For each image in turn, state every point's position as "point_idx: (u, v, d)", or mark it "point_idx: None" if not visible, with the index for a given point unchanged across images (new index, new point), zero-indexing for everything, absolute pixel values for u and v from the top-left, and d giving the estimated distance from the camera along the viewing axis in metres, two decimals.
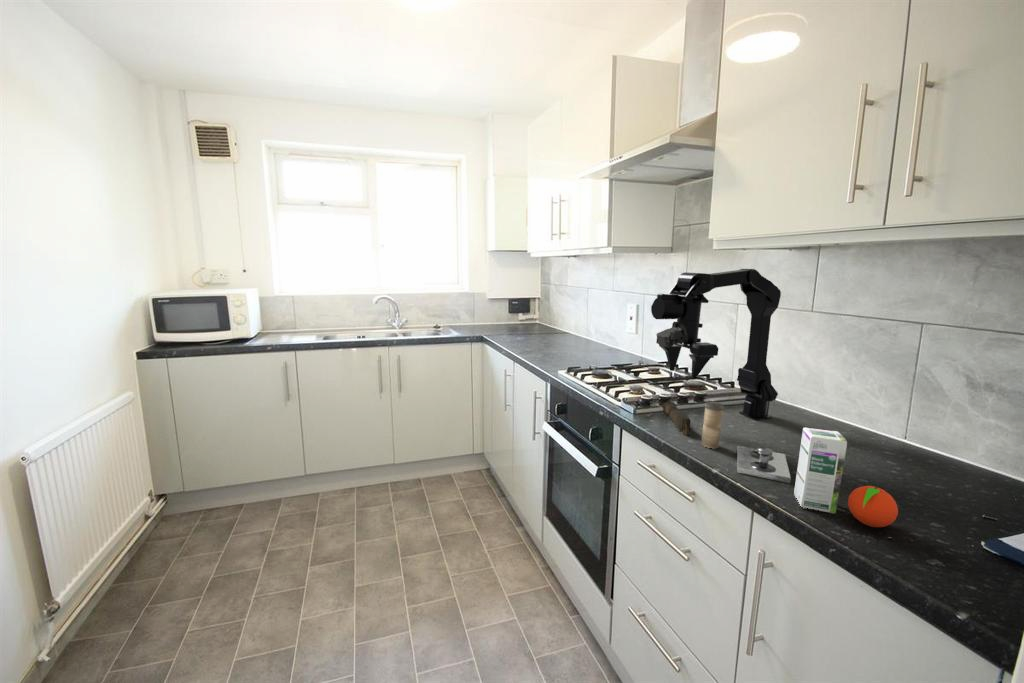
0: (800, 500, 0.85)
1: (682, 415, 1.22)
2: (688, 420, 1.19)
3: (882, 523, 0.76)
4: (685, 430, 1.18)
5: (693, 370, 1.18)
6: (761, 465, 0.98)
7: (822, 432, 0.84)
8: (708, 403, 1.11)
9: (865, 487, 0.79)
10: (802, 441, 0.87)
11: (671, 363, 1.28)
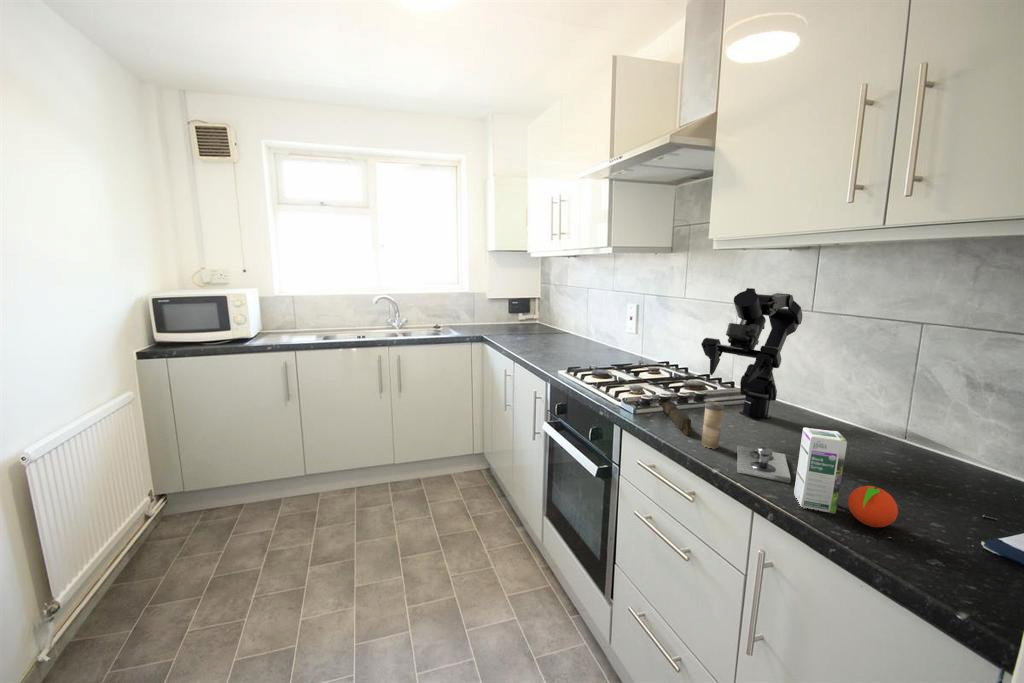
0: (799, 500, 0.85)
1: (682, 415, 1.22)
2: (689, 420, 1.18)
3: (882, 523, 0.76)
4: (686, 430, 1.18)
5: (753, 371, 1.12)
6: (761, 465, 0.98)
7: (822, 432, 0.84)
8: (708, 403, 1.11)
9: (865, 487, 0.79)
10: (802, 441, 0.87)
11: (713, 366, 1.19)
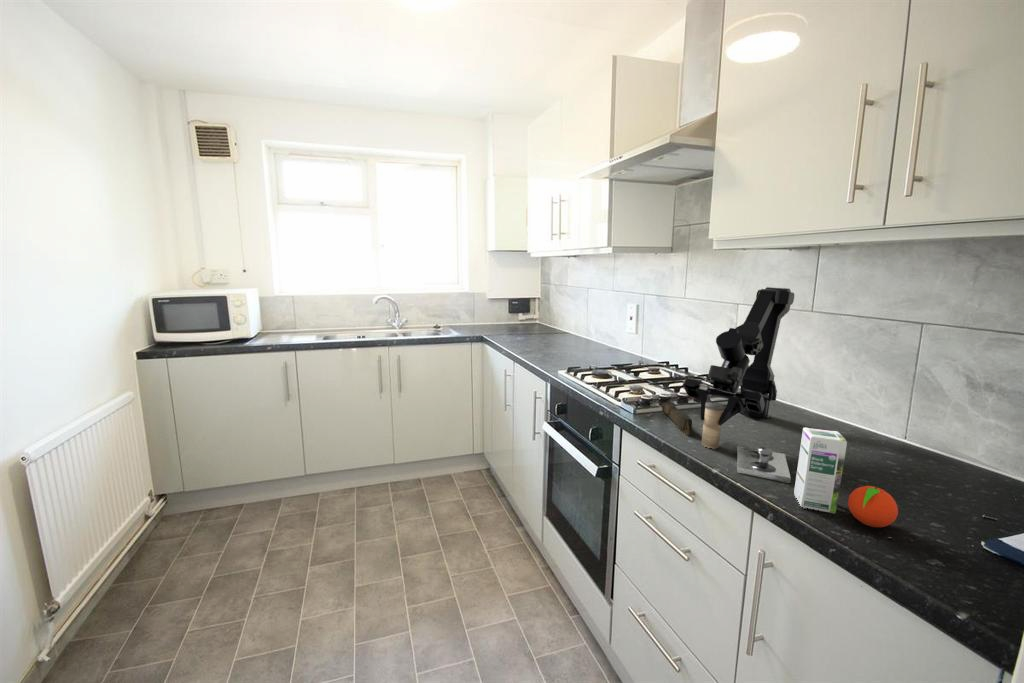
0: (799, 500, 0.85)
1: (683, 415, 1.22)
2: (690, 420, 1.18)
3: (882, 524, 0.76)
4: (687, 430, 1.18)
5: (724, 414, 1.08)
6: (761, 465, 0.98)
7: (822, 432, 0.84)
8: (708, 403, 1.11)
9: (865, 488, 0.79)
10: (802, 441, 0.87)
11: (704, 411, 1.12)
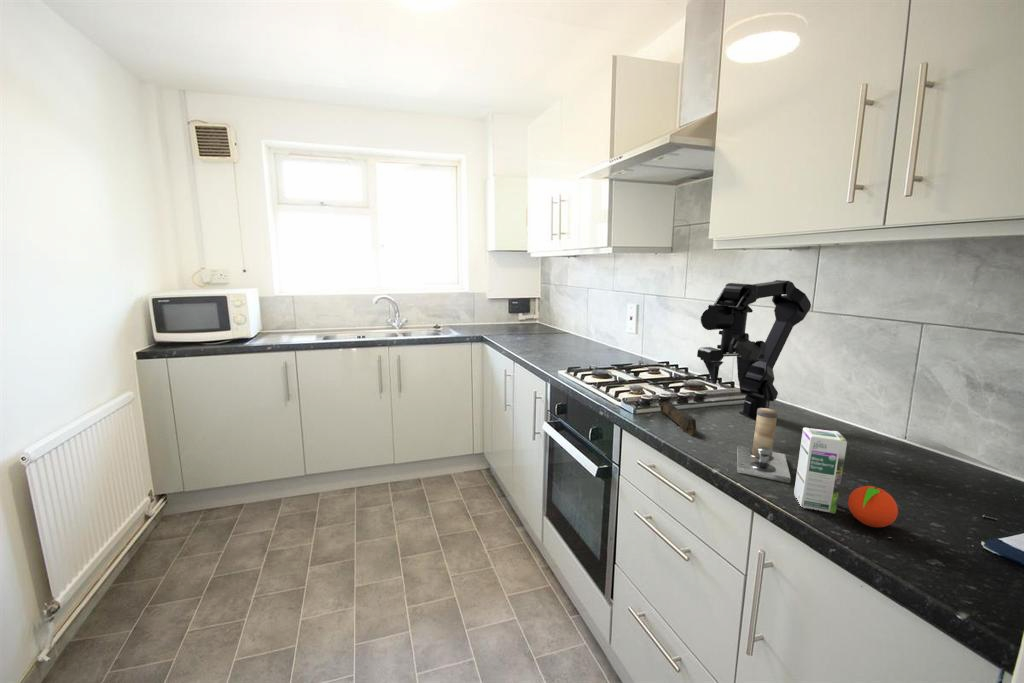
0: (799, 500, 0.85)
1: (686, 415, 1.22)
2: (693, 420, 1.19)
3: (882, 524, 0.76)
4: (691, 430, 1.18)
5: (745, 373, 1.27)
6: (761, 465, 0.98)
7: (822, 432, 0.84)
8: (761, 410, 1.02)
9: (865, 488, 0.79)
10: (802, 441, 0.87)
11: None
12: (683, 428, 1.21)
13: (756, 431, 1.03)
